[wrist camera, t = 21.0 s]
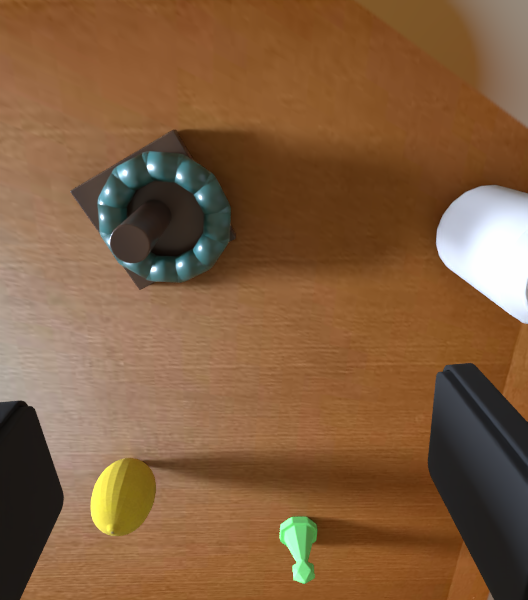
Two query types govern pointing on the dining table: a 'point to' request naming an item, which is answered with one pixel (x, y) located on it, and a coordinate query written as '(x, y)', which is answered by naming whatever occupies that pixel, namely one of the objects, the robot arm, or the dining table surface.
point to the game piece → (300, 545)
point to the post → (150, 213)
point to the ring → (190, 178)
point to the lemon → (123, 497)
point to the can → (489, 244)
